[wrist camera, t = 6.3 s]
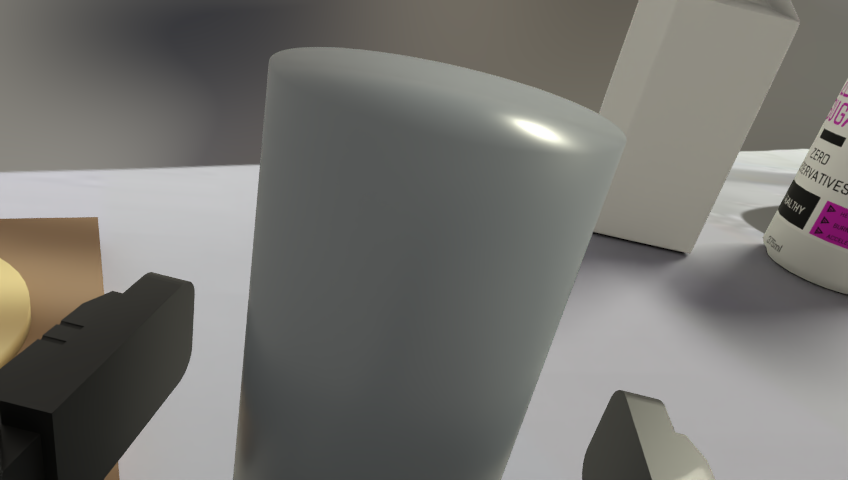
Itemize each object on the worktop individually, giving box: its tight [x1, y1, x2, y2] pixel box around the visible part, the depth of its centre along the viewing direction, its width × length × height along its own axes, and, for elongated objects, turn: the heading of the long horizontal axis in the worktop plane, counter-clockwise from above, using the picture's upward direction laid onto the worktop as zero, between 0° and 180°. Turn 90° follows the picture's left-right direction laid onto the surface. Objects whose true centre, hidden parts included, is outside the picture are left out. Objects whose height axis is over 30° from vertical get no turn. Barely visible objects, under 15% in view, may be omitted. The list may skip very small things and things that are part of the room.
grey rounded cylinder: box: [233, 47, 627, 480], centre depth 10 cm, size 5×5×12 cm
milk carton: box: [593, 0, 800, 253], centre depth 37 cm, size 7×7×19 cm
